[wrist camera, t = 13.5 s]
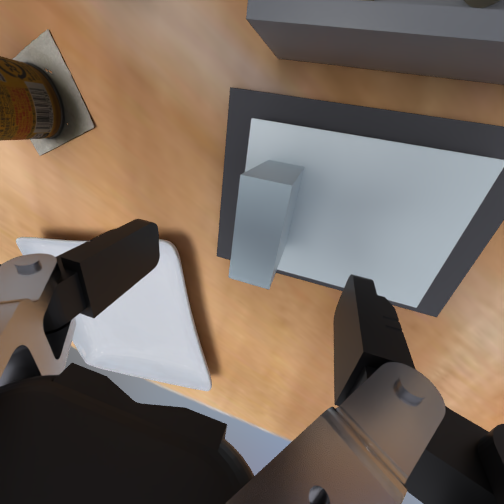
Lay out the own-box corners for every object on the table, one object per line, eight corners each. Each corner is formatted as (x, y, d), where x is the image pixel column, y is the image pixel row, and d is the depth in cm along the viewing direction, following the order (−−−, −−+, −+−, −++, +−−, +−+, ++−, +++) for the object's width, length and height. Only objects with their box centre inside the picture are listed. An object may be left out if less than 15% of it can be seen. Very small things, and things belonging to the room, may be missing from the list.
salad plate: (222, 373, 34) (212, 396, 31) (102, 349, 40) (83, 367, 37) (190, 227, 25) (171, 241, 22) (41, 227, 31) (10, 237, 28)
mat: (232, 88, 18) (230, 87, 17) (556, 134, 14) (562, 135, 14) (218, 254, 25) (216, 256, 24) (434, 314, 21) (436, 317, 21)
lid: (242, 246, 23) (202, 299, 16) (260, 119, 18) (213, 114, 11) (408, 291, 20) (449, 377, 13) (485, 156, 15) (618, 182, 8)
